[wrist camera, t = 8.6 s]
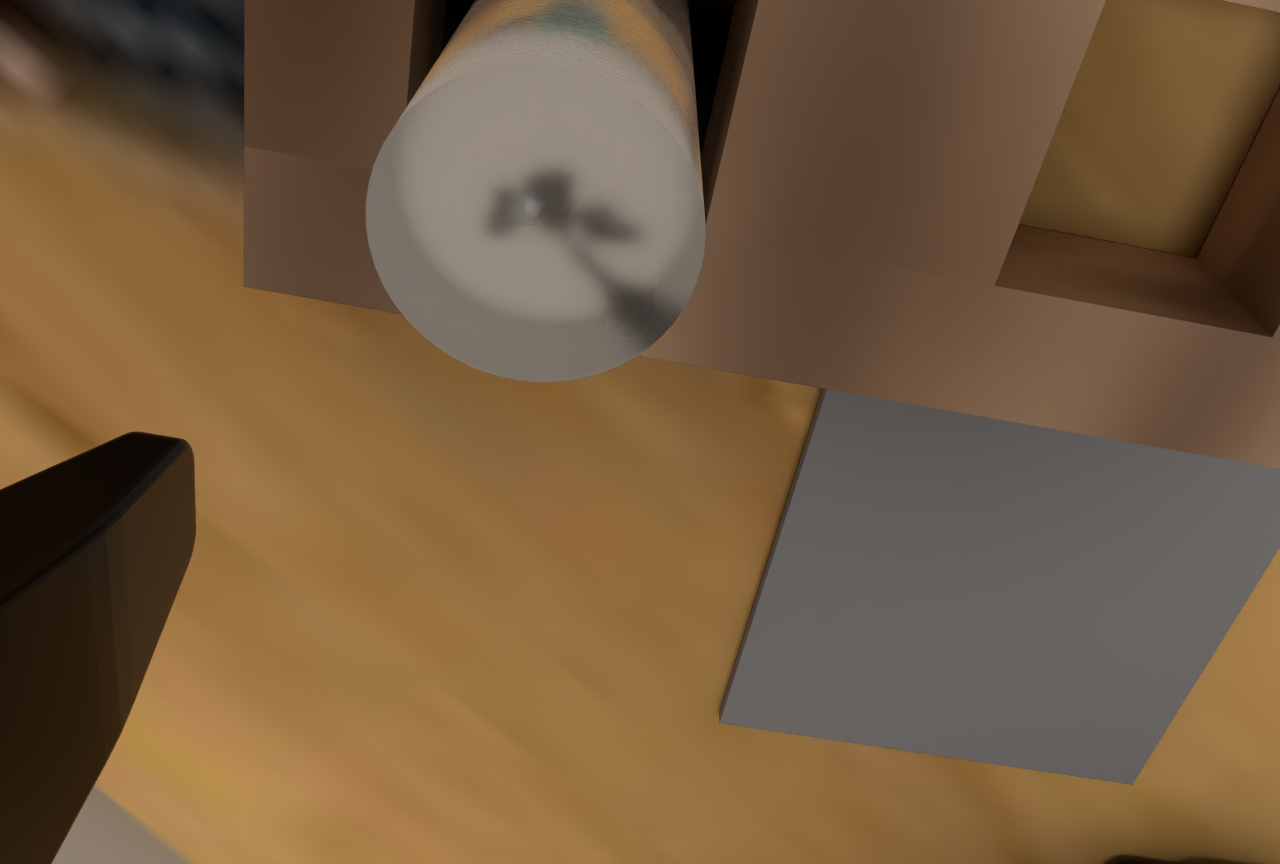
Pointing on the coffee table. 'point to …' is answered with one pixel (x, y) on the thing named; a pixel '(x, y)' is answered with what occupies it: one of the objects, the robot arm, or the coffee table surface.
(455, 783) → the coffee table surface
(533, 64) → the pin
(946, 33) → the socket block
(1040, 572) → the mat
